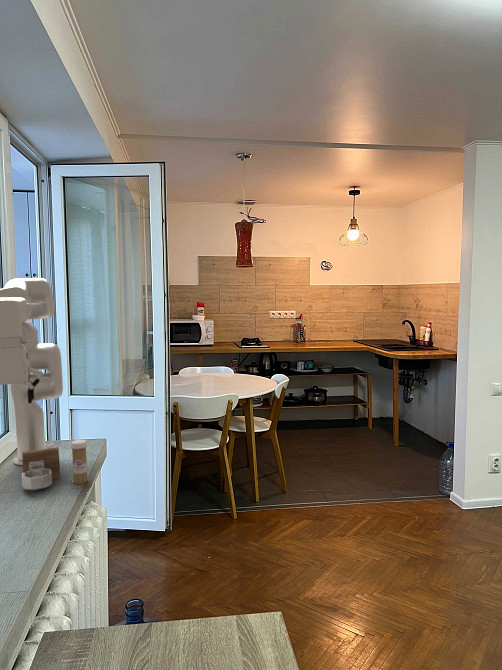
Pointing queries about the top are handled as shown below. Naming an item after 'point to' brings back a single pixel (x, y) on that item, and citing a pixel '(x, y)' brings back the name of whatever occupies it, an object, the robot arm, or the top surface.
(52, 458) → the mount board
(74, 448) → the sprinkles bottle
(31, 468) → the cup bracket
